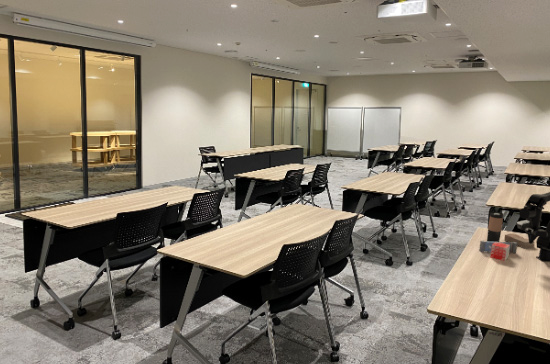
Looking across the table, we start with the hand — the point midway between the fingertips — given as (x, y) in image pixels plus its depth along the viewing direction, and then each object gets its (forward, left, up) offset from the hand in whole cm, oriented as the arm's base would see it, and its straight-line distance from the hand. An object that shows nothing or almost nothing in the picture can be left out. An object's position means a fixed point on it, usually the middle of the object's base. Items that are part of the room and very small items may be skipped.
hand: (530, 243), depth 241 cm
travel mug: (+36, +3, -12) cm, 38 cm away
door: (+17, +8, -12) cm, 22 cm away
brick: (+36, -14, -13) cm, 40 cm away
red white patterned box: (+9, +12, -12) cm, 19 cm away
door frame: (+18, +8, -12) cm, 23 cm away
